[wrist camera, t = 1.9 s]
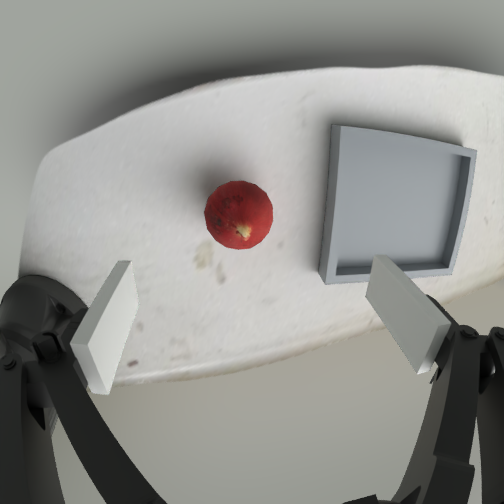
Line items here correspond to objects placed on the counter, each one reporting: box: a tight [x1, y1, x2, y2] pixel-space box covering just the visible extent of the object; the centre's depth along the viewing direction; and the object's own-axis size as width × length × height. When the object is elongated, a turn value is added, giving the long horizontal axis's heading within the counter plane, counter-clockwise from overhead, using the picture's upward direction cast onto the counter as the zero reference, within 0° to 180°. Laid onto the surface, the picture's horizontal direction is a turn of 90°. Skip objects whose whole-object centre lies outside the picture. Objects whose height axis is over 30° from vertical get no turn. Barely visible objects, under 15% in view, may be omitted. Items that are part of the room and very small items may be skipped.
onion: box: [204, 181, 273, 250], centre depth 26 cm, size 6×6×8 cm
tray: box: [319, 125, 477, 285], centre depth 30 cm, size 18×16×2 cm
